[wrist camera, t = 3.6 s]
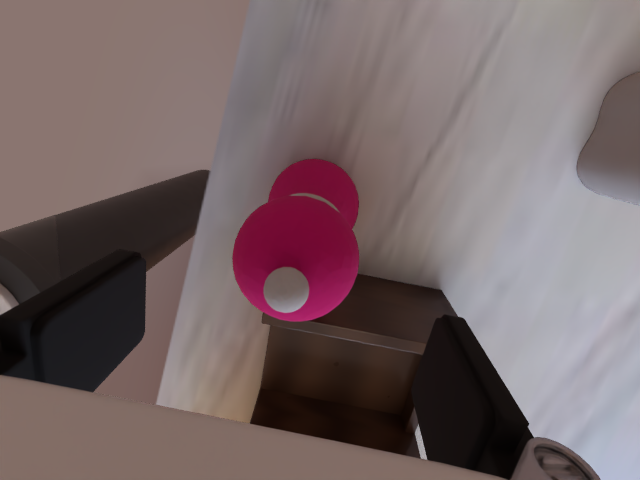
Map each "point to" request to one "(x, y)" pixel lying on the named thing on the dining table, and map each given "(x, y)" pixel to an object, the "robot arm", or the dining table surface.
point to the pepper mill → (300, 243)
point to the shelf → (351, 367)
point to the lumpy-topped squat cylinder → (615, 145)
